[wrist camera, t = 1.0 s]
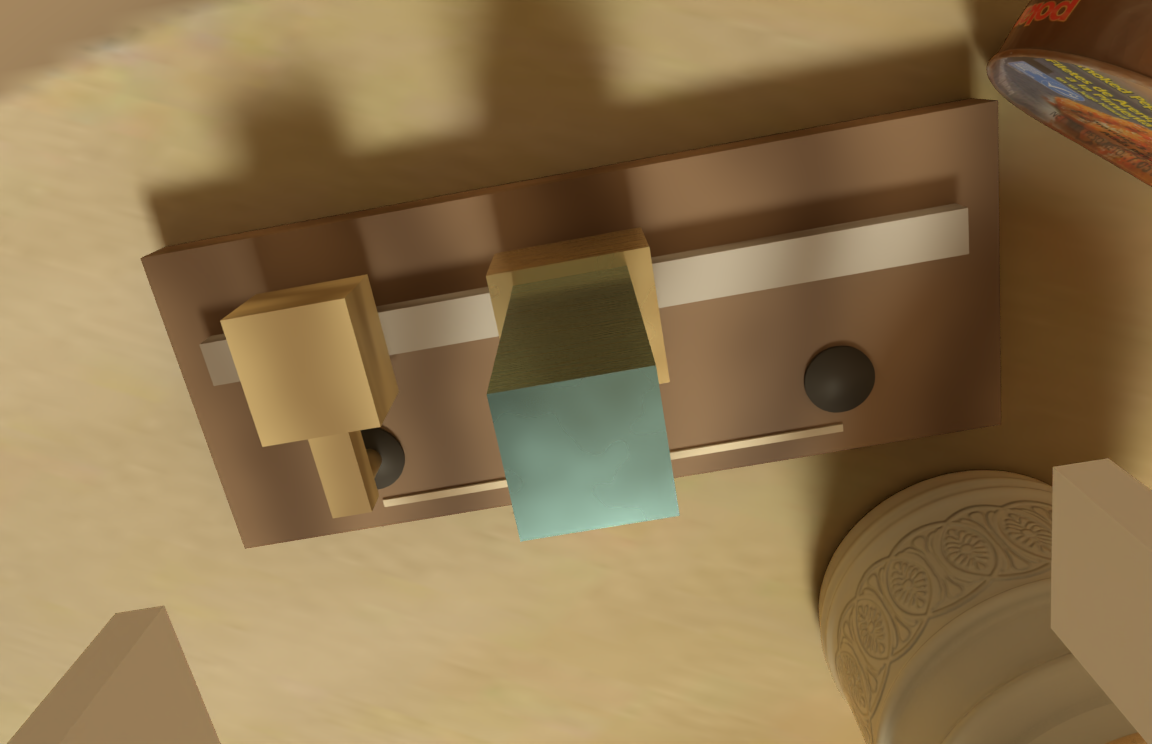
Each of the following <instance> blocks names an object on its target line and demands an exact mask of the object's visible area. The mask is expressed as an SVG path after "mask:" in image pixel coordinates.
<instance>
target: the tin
mask: <svg viewBox="0 0 1152 744" xmlns="http://www.w3.org/2000/svg"><path fill="white" fill-rule="evenodd" d="M987 75H988V78H989V79H990V81H991V83H992V84H993V86H994V87H995V89H996V90H997V91H998V92H999V93H1000V94H1001V95H1002V96H1004V97H1005V98H1006V99H1007V100H1008V101H1009V102H1011V103H1012V104H1013V105H1015V106H1016V107H1018V108H1019V109H1021V110H1022V111H1024V112H1025V113H1026V114H1028V115H1030V116H1031V117H1033V118H1035V119H1036V120H1038V121H1040V122H1041V123H1043V124H1045V125H1046V126H1048V127H1050V128H1051V129H1053V130H1055V131H1057V132H1058V133H1060V134H1062V135H1063V136H1065V137H1067V138H1069V139H1070V140H1072V141H1074V142H1076V143H1078V144H1079V145H1081V146H1083V147H1084V148H1086V149H1088V150H1089V151H1091V152H1093V153H1095V154H1097V155H1098V156H1100V157H1102V158H1103V159H1105V160H1107V161H1109V162H1110V163H1112V164H1114V165H1116V166H1117V167H1119V168H1121V169H1122V170H1124V171H1126V172H1128V173H1129V174H1131V175H1133V176H1134V177H1136V178H1138V179H1139V180H1141V181H1143V182H1144V183H1146V184H1148V185H1150V186H1151V187H1152V0H1031V1H1030V2H1029V4H1028V5H1027V6H1026V8H1025V9H1024V11H1023V12H1022V14H1021V15H1020V17H1019V18H1018V20H1017V22H1016V23H1015V25H1014V27H1013V28H1012V30H1011V32H1010V34H1009V35H1008V37H1007V39H1006V40H1005V42H1004V44H1003V45H1002V47H1001V49H1000V50H999V52H998V53H997V54H996V55H994V56H993V57H992V58H991V59H990V60H989V62H988V64H987Z"/></svg>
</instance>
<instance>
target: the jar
mask: <svg viewBox="0 0 1152 744" xmlns="http://www.w3.org/2000/svg"><path fill="white" fill-rule="evenodd" d="M1052 492H1053V487H1052V486H1050V485H1048V484H1046V483H1044V482H1042V481H1039V480H1037V479H1035V478H1031V477H1028V476H1025V475H1021V474H1017V473H1012V472H1005V471H995V470H973V471H963V472H955V473H950V474H946V475H941V476H938V477H934V478H931V479H928V480H925V481H922V482H919V483H917V484H915V485H912V486H910V487H908V488H906V489H904V490H902V491H900V492H898V493H896V494H895V495H893V496H891V497H889V498H888V499H886V500H885V501H883V502H882V503H880V504H879V505H878V506H876V507H875V508H874V509H872V510H871V511H870V512H869V513H868V514H866V515H865V516H864V517H863V518H862V519H861V520H860V521H859V522H858V523H857V524H856V525H855V526H854V527H853V528H852V529H851V531H850V532H849V533H848V534H847V535H846V537H845V538H844V539H843V541H842V542H841V544H840V545H839V546H838V548H837V550H836V551H835V553H834V555H833V557H832V559H831V561H830V563H829V565H828V567H827V570H826V572H825V575H824V578H823V582H822V585H821V590H820V596H819V623H820V632H821V642H822V648H823V653H824V656H825V660H826V663H827V665H828V668H829V670H830V672H831V675H832V678H833V680H834V682H835V685H836V687H837V689H838V690H839V692H840V694H841V695H842V697H843V699H844V700H845V701H846V702H847V704H848V705H849V706H850V708H851V710H852V713H853V715H854V717H855V719H856V722H857V724H858V726H859V729H860V731H861V733H862V735H863V738H864V740H865V742H866V744H1147V742H1146V741H1145V740H1144V739H1143V738H1142V736H1141V735H1140V734H1139V733H1138V732H1137V730H1136V729H1135V728H1134V727H1133V726H1132V725H1131V723H1130V722H1129V721H1128V720H1127V719H1126V717H1125V716H1124V715H1123V714H1122V713H1121V711H1120V710H1119V709H1118V708H1117V707H1116V705H1115V704H1114V703H1113V702H1112V701H1111V699H1110V698H1109V697H1108V696H1107V695H1106V693H1105V692H1104V691H1103V690H1102V689H1101V687H1100V686H1099V685H1098V684H1097V683H1096V681H1095V680H1094V679H1093V678H1092V677H1091V675H1090V674H1089V673H1088V672H1087V671H1086V670H1085V668H1084V667H1083V666H1082V665H1081V664H1080V662H1079V661H1078V660H1077V659H1076V658H1075V656H1074V655H1073V654H1072V653H1071V652H1070V650H1069V649H1068V648H1067V647H1066V646H1065V644H1064V643H1063V642H1062V641H1061V640H1060V638H1059V637H1058V636H1057V635H1056V634H1055V632H1054V631H1053V630H1052V629H1051V564H1052Z"/></svg>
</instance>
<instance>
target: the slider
mask: <svg viewBox="0 0 1152 744" xmlns="http://www.w3.org/2000/svg"><path fill="white" fill-rule="evenodd" d="M486 279H487V284H488V288H489V293H490V297H491V302H492V306H493V311H494V316H495V320H496V325H497V329H498V334H499V338H500V341H499V345H498V349H497V353H496V358H495V362H494V366H493V370H492V374H491V378H490V382H489V386H488V390H487V394H486V395H487V399H488V403H489V407H490V412H491V416H492V420H493V425H494V429H495V433H496V438H497V442H498V446H499V451H500V455H501V459H502V464H503V468H504V472H505V477H506V481H507V485H508V490H509V494H510V498H511V502H512V507H513V511H514V515H515V520H516V524H517V528H518V533H519V537H520V541H526V540H532V539H538V538H545V537H551V536H557V535H563V534H569V533H576V532H582V531H588V530H594V529H600V528H606V527H613V526H619V525H625V524H631V523H637V522H643V521H650V520H656V519H662V518H668V517H674V516H680V515H679V509H678V502H677V496H676V490H675V483H674V477H673V470H672V464H671V458H670V451H669V445H668V438H667V432H666V426H665V419H664V413H663V406H662V400H661V394H660V387H659V384H662V383H668V382H670V379H669V373H668V366H667V359H666V353H665V346H664V340H663V333H662V326H661V320H660V313H659V307H658V300H657V293H656V287H655V280H654V274H653V267H652V260H651V254H650V247H649V245H648V242H647V240H646V238H645V236H644V233H643V231H642V229H641V227H640V228H634V229H629V230H623V231H617V232H612V233H606V234H601V235H595V236H590V237H584V238H579V239H573V240H567V241H562V242H556V243H551V244H545V245H540V246H534V247H529V248H523V249H518V250H512V251H506V252H501V253H495V254H494V256H493V259H492V261H491V264H490V266H489V269H488V271H487V274H486Z"/></svg>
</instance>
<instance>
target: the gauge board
mask: <svg viewBox="0 0 1152 744" xmlns="http://www.w3.org/2000/svg"><path fill="white" fill-rule="evenodd" d="M640 227H641V229H642V231H643V233H644V236H645V238H646V240H647V242H648V245H649V247H650V254H651V260H652V267H653V274H654V280H655V287H656V293H657V300H658V307H659V313H660V320H661V326H662V333H663V340H664V346H665V353H666V359H667V366H668V373H669V379H670V382H668V383H662V384H659V387H660V394H661V400H662V406H663V413H664V419H665V426H666V432H667V438H668V445H669V451H670V458H671V464H672V470H673V477H674V478H678V477H684V476H690V475H696V474H702V473H708V472H714V471H720V470H726V469H732V468H739V467H745V466H751V465H757V464H763V463H769V462H775V461H781V460H787V459H793V458H799V457H806V456H812V455H818V454H824V453H830V452H836V451H842V450H848V449H854V448H860V447H866V446H872V445H879V444H885V443H891V442H897V441H903V440H909V439H915V438H921V437H927V436H933V435H939V434H946V433H952V432H958V431H964V430H970V429H976V428H982V427H988V426H994V425H1000V424H1001V360H1000V255H999V151H998V101H997V100H986V99H975V98H970V99H965V100H959V101H954V102H948V103H943V104H937V105H932V106H927V107H921V108H916V109H910V110H905V111H899V112H894V113H889V114H883V115H878V116H872V117H867V118H861V119H856V120H851V121H845V122H840V123H834V124H829V125H824V126H818V127H813V128H807V129H802V130H796V131H791V132H786V133H780V134H775V135H769V136H764V137H758V138H753V139H748V140H742V141H737V142H731V143H726V144H720V145H715V146H710V147H704V148H699V149H693V150H688V151H682V152H677V153H672V154H666V155H661V156H655V157H650V158H644V159H639V160H634V161H628V162H623V163H617V164H612V165H607V166H601V167H596V168H590V169H585V170H579V171H574V172H569V173H563V174H558V175H552V176H547V177H541V178H536V179H531V180H525V181H520V182H514V183H509V184H503V185H498V186H493V187H487V188H482V189H476V190H471V191H465V192H460V193H455V194H449V195H444V196H438V197H433V198H427V199H422V200H417V201H411V202H406V203H400V204H395V205H389V206H384V207H379V208H373V209H368V210H362V211H357V212H352V213H346V214H341V215H335V216H330V217H324V218H319V219H314V220H308V221H303V222H297V223H292V224H286V225H281V226H276V227H270V228H265V229H259V230H254V231H248V232H243V233H238V234H232V235H227V236H221V237H216V238H210V239H205V240H200V241H194V242H189V243H183V244H178V245H172V246H167V247H164V248H162V249H160V250H157V251H155V252H153V253H151V254H149V255H147V256H144V257H142V258H141V261H142V264H143V267H144V269H145V272H146V275H147V278H148V280H149V283H150V286H151V289H152V292H153V294H154V297H155V300H156V303H157V305H158V308H159V311H160V314H161V317H162V319H163V322H164V325H165V328H166V330H167V333H168V336H169V339H170V342H171V344H172V347H173V350H174V353H175V355H176V358H177V361H178V364H179V367H180V369H181V372H182V375H183V378H184V380H185V383H186V386H187V389H188V392H189V394H190V397H191V400H192V403H193V405H194V408H195V411H196V414H197V417H198V419H199V422H200V425H201V428H202V431H203V433H204V436H205V439H206V442H207V444H208V447H209V450H210V453H211V456H212V458H213V461H214V464H215V467H216V469H217V472H218V475H219V478H220V481H221V483H222V486H223V489H224V492H225V494H226V497H227V500H228V503H229V506H230V508H231V511H232V514H233V517H234V519H235V522H236V525H237V528H238V531H239V533H240V536H241V539H242V542H243V544H244V547H245V549H246V548H252V547H258V546H264V545H270V544H276V543H282V542H288V541H294V540H300V539H306V538H312V537H319V536H325V535H331V534H337V533H343V532H349V531H355V530H361V529H367V528H373V527H379V526H386V525H392V524H398V523H404V522H410V521H416V520H422V519H428V518H434V517H440V516H446V515H452V514H459V513H465V512H471V511H477V510H483V509H489V508H495V507H501V506H507V505H512V502H511V498H510V494H509V490H508V485H507V481H506V477H505V472H504V468H503V464H502V459H501V455H500V451H499V446H498V442H497V438H496V433H495V429H494V425H493V420H492V416H491V412H490V407H489V403H488V399H487V395H486V394H487V390H488V386H489V382H490V378H491V374H492V370H493V366H494V362H495V358H496V353H497V349H498V345H499V341H500V338H499V334H498V329H497V325H496V320H495V316H494V311H493V306H492V302H491V297H490V293H489V288H488V284H487V279H486V274H487V271H488V269H489V266H490V264H491V261H492V259H493V256H494V254H495V253H501V252H506V251H512V250H518V249H523V248H529V247H534V246H540V245H545V244H551V243H556V242H562V241H567V240H573V239H579V238H584V237H590V236H595V235H601V234H606V233H612V232H617V231H623V230H629V229H634V228H640Z"/></svg>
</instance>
